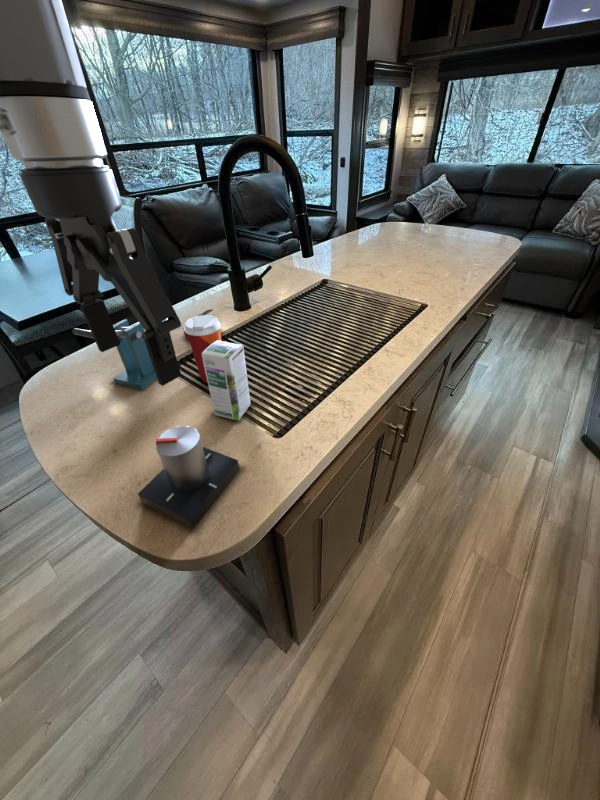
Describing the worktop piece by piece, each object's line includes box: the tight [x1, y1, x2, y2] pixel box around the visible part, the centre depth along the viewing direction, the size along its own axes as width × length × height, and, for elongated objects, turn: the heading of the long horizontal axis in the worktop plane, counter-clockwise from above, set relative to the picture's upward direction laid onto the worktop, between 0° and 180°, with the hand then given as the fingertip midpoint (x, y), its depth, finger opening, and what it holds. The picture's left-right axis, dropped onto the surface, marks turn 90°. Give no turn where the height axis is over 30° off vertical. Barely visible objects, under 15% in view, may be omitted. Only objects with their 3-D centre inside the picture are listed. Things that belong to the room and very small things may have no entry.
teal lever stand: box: [112, 319, 157, 390], centre depth 75 cm, size 10×8×13 cm
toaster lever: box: [72, 327, 129, 339], centre depth 68 cm, size 12×6×2 cm, turn 160°
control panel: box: [137, 446, 241, 530], centre depth 53 cm, size 12×10×3 cm
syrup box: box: [202, 340, 251, 422], centre depth 64 cm, size 6×6×14 cm
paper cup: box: [183, 314, 222, 384], centre depth 74 cm, size 8×8×14 cm
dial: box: [155, 425, 209, 492], centre depth 49 cm, size 6×6×8 cm
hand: (138, 362), depth 43 cm, fingers open, 13 cm apart
